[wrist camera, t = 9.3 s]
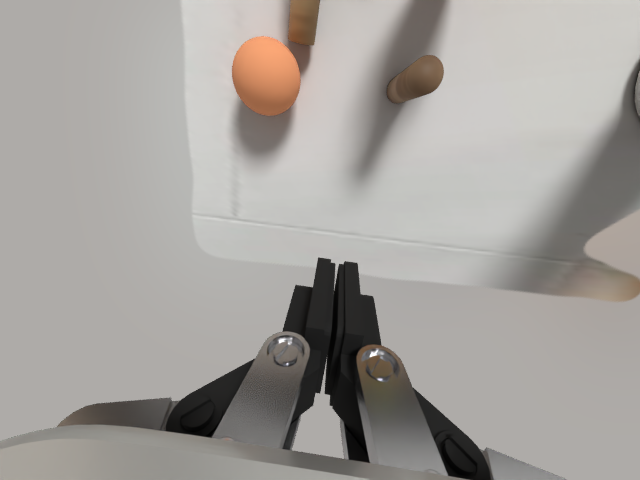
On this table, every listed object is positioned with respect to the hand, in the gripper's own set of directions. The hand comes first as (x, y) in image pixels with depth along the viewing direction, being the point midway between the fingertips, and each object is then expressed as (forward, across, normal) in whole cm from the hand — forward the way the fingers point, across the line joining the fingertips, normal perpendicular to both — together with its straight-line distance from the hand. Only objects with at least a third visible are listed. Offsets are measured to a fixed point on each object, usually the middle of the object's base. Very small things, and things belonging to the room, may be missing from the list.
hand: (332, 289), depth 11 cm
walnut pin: (+21, -4, -10) cm, 24 cm away
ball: (+18, +8, -9) cm, 21 cm away
